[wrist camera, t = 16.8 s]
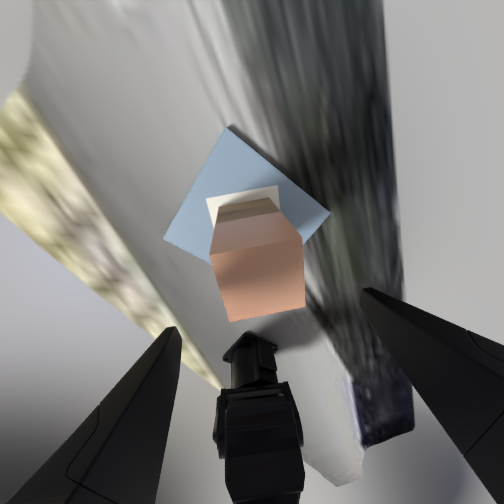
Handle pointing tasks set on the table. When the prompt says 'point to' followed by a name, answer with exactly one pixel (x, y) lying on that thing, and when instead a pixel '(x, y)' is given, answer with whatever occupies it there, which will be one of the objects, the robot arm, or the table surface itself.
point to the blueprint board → (238, 196)
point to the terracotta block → (258, 265)
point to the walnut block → (246, 210)
